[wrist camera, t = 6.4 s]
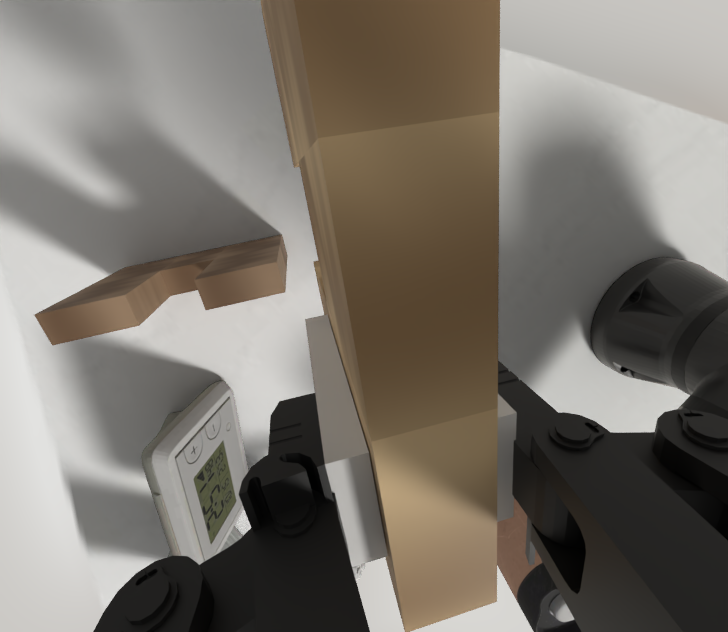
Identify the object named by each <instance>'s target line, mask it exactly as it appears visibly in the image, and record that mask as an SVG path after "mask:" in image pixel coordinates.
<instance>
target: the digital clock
mask: <svg viewBox="0 0 728 632" xmlns="http://www.w3.org/2000/svg"><path fill="white" fill-rule="evenodd" d="M141 459H142V465H143V468H144V471H145V475H146V478H147V481H148V484H149V487H150V490H151V493H152V496H153V499H154V503H155V506H156V509H157V512H158V515H159V518H160V521H161V524H162V527H163V530H164V533H165V536H166V539H167V542H168V545H169V548H170V551H171V554H172V556H188V557H190V558H191V559H192V560H194V561H195V562H197V563H198V564H199V565H200V564H201V563H203V562H205V561H206V560H208V559H210V558H211V557H213V556H215V555H216V554H218V553H220V551H221V549H222V547H223V545H224V544H225V542H226V540H227V538H228V536H229V534H230V533H231V531H232V529H233V527H234V525H235V524H236V522H237V520H238V518H239V516H240V514H241V513H242V511H243V509H244V507H243V505H242V502H241V500H240V497H239V491H240V487H241V483H242V480H243V479H244V477H245V476H246V474H247V473H248V466H247V460H246V455H245V450H244V445H243V439H242V434H241V429H240V424H239V419H238V413H237V408H236V403H235V398H234V394H233V391H232V389H231V388H230V387H229V386H228V385H227V384H226V382H225V381H218V382H215V383H213V384H212V385H210V386H209V387H208V388H207V389H206V390H204V391H203V392H202V393H201V394H200V395H199V396H198V397H197V398H196V399H195V400H194V401H193V402H192V403H191V404H190V405H189V406H188V407H187V408H186V409H185V410H184V411H181V412H174V413H170V414H169V415H168V416H167V418H166V420H165V422H164V424H163V426H162V428H161V430H160V432H159V433H158V435H157V437H156V438H155V439H154V440H153V441H152V442H151V443H150V444H149V445H148V446H147V447H146V448H145V449H144V451H143V453H142V456H141Z"/></svg>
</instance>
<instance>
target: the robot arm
mask: <svg viewBox="0 0 728 632" xmlns="http://www.w3.org/2000/svg"><path fill="white" fill-rule="evenodd" d="M305 321H306V329H307V336H308V343H309V351H310V358H311V366H312V373H313V380H314V388H315V393H313V394H308V395H304V396H300V397H296V398H292V399H288V400H284V401H280V402H279V403H278V405H277V407H276V408H275V410H274V411H273V413H272V415H271V420H270V436H269V452H268V455H267V456H265V457H264V458H262V459H261V460H260V461H259V462H257V463H256V464H255V465H254V466H252V467H251V469H250V470H249V471H248V473H247V474H246V476H245V477H244V479H243V480H242V483H241V487H240V491H239V497H240V500H241V502H242V505H243V507H244V510H245V512H246V515H247V517H248V520H249V522H250V525H251V527H252V528H251V529H250V530H249V531H248V532H247V533H246V534H245V535H244V536H243V537H242V538H241V539H239V540H238V541H236V542H235V543H234V544H232V545H231V546H229V547H228V548H226V549H225V550H223V551H221V552H220V553H218V554H216V555H215V556H213V557H211V558H210V559H208V560H206V561H205V562H203V563H201V564H200V565H199V564H198V563H197V562H195V561H194V560H192V559H191V558H190V557H188V556H170V557H167V558H164V559H161V560H158V561H155V562H153V563H152V564H150V565H149V566H147V567H146V568H144V569H143V570H141V571H139V572H138V573H136V574H135V575H134V576H133V577H132V578H131V579H130V580H129V581H128V582H127V583H126V584H125V585H124V586H123V587H122V588H121V589H120V590H119V591H118V592H117V594H116V595H115V597H114V598H113V599H112V601H111V602H110V604H109V605H108V607H107V608H106V610H105V611H104V613H103V615H102V617H101V618H100V620H99V623H98V624H97V626H96V628H95V630H94V632H370V631H369V627H368V623H367V620H366V616H365V612H364V609H363V606H362V602H361V598H360V594H359V591H358V587H357V583H356V580H355V576H354V572H353V569H352V567H354V566H357V565H361V564H364V563H367V562H370V561H373V560H376V559H380V558H383V557H386V556H388V554H387V549H386V543H385V538H384V532H383V527H382V521H381V516H380V511H379V505H378V500H377V494H376V489H375V483H374V478H373V472H372V467H371V461H370V456H369V451H368V448H367V445H366V441H365V438H364V435H363V431H362V428H361V425H360V421H359V418H358V415H357V411H356V408H355V405H354V401H353V398H352V395H351V391H350V388H349V385H348V382H347V378H346V375H345V372H344V368H343V365H342V362H341V358H340V355H339V352H338V348H337V345H336V342H335V338H334V335H333V332H332V328H331V325H330V322H329V318H328V315H323V316H319V317H314V318H309V319H305ZM591 342H592V347H593V350H594V352H595V354H596V356H597V358H598V359H599V360H600V361H601V362H602V363H603V364H605V365H606V366H608V367H610V368H611V369H613V370H615V371H616V372H618V373H620V374H622V375H625V376H628V377H632V378H636V379H640V380H645V381H649V382H653V383H658V384H662V385H666V386H671V387H675V388H678V389H680V390H682V391H684V392H685V393H687V394H689V395H690V397H689V398H688V399H687V400H686V401H685V402H684V403H683V404H682V405H681V406H680V407H679V408H678V409H677V410H672V411H668V412H664V413H663V414H662V415H661V416H660V417H659V418H658V420H657V424H656V429H655V432H653V433H610V432H609V431H608V430H607V429H605V428H604V427H602V426H601V425H599V424H598V423H597V422H595V421H593V420H590V419H588V418H585V417H583V416H580V415H575V414H570V413H558V412H557V411H556V410H555V409H553V408H552V407H551V406H550V405H549V404H548V403H546V402H545V401H544V400H543V399H542V398H541V397H540V396H538V395H537V394H536V393H535V392H534V391H533V390H531V389H530V388H529V387H528V386H527V385H526V384H525V383H523V382H522V381H521V380H520V381H519V379H518V377H516V376H515V375H514V374H513V373H512V372H511V371H510V372H509V371H508V369H507V368H506V367H505V366H504V365H503V364H501V363H500V362H499V361H498V451H497V522H499V521H502V520H505V519H508V518H512V517H513V515H514V498H515V499H516V501H517V502H518V503H519V505H520V506H521V508H522V509H523V510H524V512H525V513H526V515H527V531H526V550H525V554H526V557H527V560H528V563H529V565H533V564H535V550H536V551H537V553H538V554H539V556H540V558H541V561H542V563H544V565H545V567H546V569H547V571H548V572H549V574H550V576H551V578H552V580H553V581H554V583H555V585H556V587H557V589H558V590H559V592H560V594H561V596H562V598H563V599H564V601H565V603H566V605H567V607H568V608H569V610H570V612H571V614H572V616H573V617H574V619H575V621H576V623H577V624H578V626H579V628H580V630H581V632H728V282H727V281H726V280H724V279H722V278H721V277H719V276H717V275H716V274H714V273H712V272H710V271H708V270H707V269H705V268H704V267H702V266H700V265H698V264H696V263H693V262H689V261H685V260H680V259H675V258H668V257H662V258H655V259H651V260H648V261H645V262H643V263H641V264H639V265H637V266H635V267H633V268H632V269H630V270H629V271H628V272H626V273H625V274H624V275H623V276H621V277H620V278H619V279H618V280H617V281H616V282H615V283H614V284H613V285H612V287H611V288H610V289H609V290H608V292H607V293H606V294H605V296H604V297H603V299H602V301H601V302H600V304H599V306H598V308H597V311H596V313H595V316H594V319H593V323H592V329H591Z"/></svg>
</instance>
